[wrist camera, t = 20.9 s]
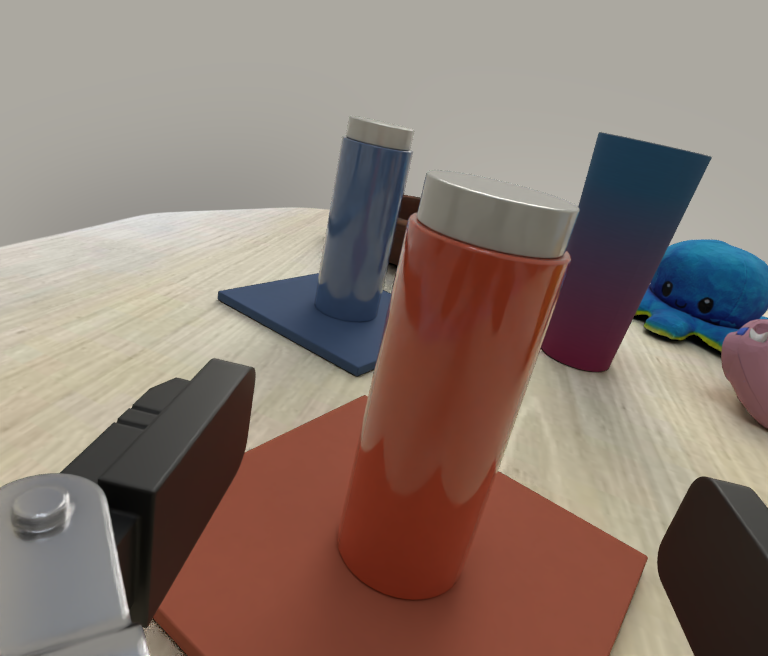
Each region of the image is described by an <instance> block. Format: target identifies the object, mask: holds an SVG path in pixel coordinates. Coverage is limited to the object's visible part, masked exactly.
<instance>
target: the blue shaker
mask: <svg viewBox="0 0 768 656" xmlns="http://www.w3.org/2000/svg"><path fill="white" fill-rule="evenodd" d="M413 135H414V130H413V129H410V128H407V127H403V126H399V125H395V124H391V123H386V122H382V121H378V120H373V119H368V118H362V117H357V116H350V117H349V121H348V127H347V132H346V136H343V137H342V142H341V148H340V153H339V159H338V165H337V172H336V177H335V183H334V189H333V195H332V201H331V207H330V212H329V218H328V224H327V230H326V236H325V241H324V247H323V253H322V259H321V265H320V271H319V277H318V283H317V288H316V294H315V300H314V305H315V307H316V308H317V309H318V310H319V311H320V312H322V313H323V314H325V315H328V316H330V317H333V318H336V319H340V320H344V321H351V322H365V321H370V320H373V319H375V318H376V317H377V315H378V310H379V306H380V301H381V296H382V292H383V287H384V283H385V278H386V274H387V269H388V264H389V260H390V255H391V251H392V246H393V242H394V237H395V233H396V228H397V223H398V219H399V214H400V210H401V205H402V201H403V196H404V191H405V187H406V182H407V178H408V173H409V169H410V164H411V159H412V154H413V151H412V150H410V149H411V144H412V140H413Z"/></svg>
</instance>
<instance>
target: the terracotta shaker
mask: <svg viewBox="0 0 768 656" xmlns="http://www.w3.org/2000/svg"><path fill="white" fill-rule="evenodd" d="M579 212H580V208H579V207H578V206H576V205H575V204H573V203H571V202H569V201H567V200H564V199H561V198H558V197H556V196H553V195H550V194H547V193H544V192H540V191H537V190H534V189H530V188H527V187H523V186H519V185H516V184H511V183H508V182H503V181H499V180H495V179H491V178H486V177H481V176H476V175H471V174H465V173H459V172H451V171H442V170H432V171H428V172H427V173H426V177H425V182H424V186H423V191H422V195H421V199H420V203H419V208H418V212H417V213H414V214H412V215H411V216H410V217H409V218H408V222H407V227H406V231H405V235H404V240H403V244H402V249H401V253H400V258H399V262H398V266H397V271H396V275H395V280H394V284H393V289H392V293H391V297H390V302H389V306H388V311H387V315H386V320H385V324H384V328H383V333H382V337H381V342H380V346H379V351H378V355H377V359H376V364H375V368H374V373H373V377H372V381H371V386H370V390H369V395H368V399H367V404H366V408H365V412H364V417H363V421H362V426H361V430H360V435H359V439H358V443H357V448H356V452H355V457H354V461H353V466H352V470H351V474H350V479H349V483H348V488H347V492H346V497H345V501H344V505H343V510H342V514H341V519H340V523H339V528H338V533H337V543H338V548H339V551H340V554H341V557H342V559H343V561H344V563H345V564H346V565H347V567H348V568H349V570H350V571H351V572H352V573H353V574H354V575H355V576H356V577H357V578H358V579H359V580H360V581H362V582H363V583H364V584H366V585H367V586H369V587H371V588H372V589H374V590H376V591H378V592H380V593H383V594H385V595H388V596H391V597H395V598H400V599H406V600H423V599H430V598H433V597H437V596H439V595H441V594H443V593H445V592H447V591H448V590H449V589H451V588H452V587H453V586H454V585H455V584H456V583H457V582H458V580H459V579H460V577H461V575H462V572H463V570H464V567H465V564H466V561H467V558H468V555H469V552H470V550H471V547H472V544H473V541H474V538H475V535H476V532H477V530H478V527H479V524H480V521H481V518H482V515H483V512H484V510H485V507H486V504H487V501H488V498H489V495H490V492H491V489H492V487H493V484H494V481H495V478H496V475H497V472H498V469H499V467H500V464H501V461H502V458H503V455H504V452H505V449H506V447H507V444H508V441H509V438H510V435H511V432H512V429H513V427H514V424H515V421H516V418H517V415H518V412H519V409H520V407H521V404H522V401H523V398H524V395H525V392H526V389H527V387H528V384H529V381H530V378H531V375H532V372H533V369H534V367H535V364H536V361H537V358H538V355H539V352H540V349H541V346H542V344H543V341H544V338H545V335H546V332H547V329H548V326H549V324H550V321H551V318H552V315H553V312H554V309H555V306H556V304H557V301H558V298H559V295H560V292H561V289H562V286H563V284H564V281H565V278H566V275H567V272H568V269H569V266H570V264H571V255H570V253H569V252H568V251H567V247H568V245H569V242H570V239H571V236H572V233H573V230H574V227H575V224H576V221H577V218H578V215H579Z"/></svg>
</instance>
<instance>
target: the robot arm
mask: <svg viewBox="0 0 768 656" xmlns="http://www.w3.org/2000/svg"><path fill="white" fill-rule="evenodd" d="M254 386H255V369H254V368H253V367H249V366H245V365H240V364H236V363H232V362H228V361H224V360H220V359H215V358H213V359H211V360H210V361H209V362H208V363H207V364H206V365H205V366H204V367H203V368H202V369H201V370H200V371H199V372H198V373H197V375H196V376H195V377H194V378H193V379H192V380H191V381H188V380H184V379H180V378H174V379H172V380H169V381H167V382H165V383H162V384H160V385H157V386H155V387H153V388H150V389H149V390H148V391H147V392H146V393H145V394H144V395H143V396H142V397H141V398H139V399H138V400H137V401H136V402H135V403H134V404H133V406H132V408H131V409H130V408H129V409H128V410H127V411H126V412H125V413H123V414H122V415H121V416H120V417H119V418H118V421H117V423H115V422H114V423H113V424H112V425H111V426H110V427H108V428H107V429H106V430H105V431H104V432H103V433H102V434H101V435H100V436H99V437H98V438H97V439H96V440H95V441H94V442H92V443H91V444H90V445H89V446H88V447H87V448H86V449H85V450H84V451H83V452H82V453H81V454H80V455H79V456H77V457H76V458H75V459H74V460H73V461H72V462H71V463H70V464H69V465H68V466H67V467H66V468H65V469H64V470H63V471H61V472H60V473H52V474H41V475H35V476H30V477H26V478H22V479H19V480H16V481H13V482H11V483H8V484H6V485H4V486H2V487H0V656H150V654H149V650H148V645H147V641H146V637H145V634H144V630H143V628H142V627H144V628H147V627H148V625H149V624H150V622H151V620H152V618H153V617H154V615H155V613H156V612H157V610H158V608H159V606H160V605H161V603H162V601H163V599H164V598H165V596H166V594H167V593H168V591H169V589H170V587H171V586H172V584H173V582H174V581H175V579H176V577H177V575H178V574H179V572H180V570H181V569H182V567H183V565H184V563H185V562H186V560H187V558H188V556H189V555H190V553H191V551H192V550H193V548H194V546H195V544H196V543H197V541H198V539H199V538H200V536H201V534H202V532H203V531H204V529H205V527H206V526H207V524H208V522H209V520H210V519H211V517H212V515H213V514H214V512H215V510H216V508H217V507H218V505H219V503H220V501H221V500H222V498H223V496H224V495H225V493H226V491H227V489H228V488H229V486H230V484H231V483H232V481H233V479H234V477H235V476H236V474H237V472H238V470H239V467H240V465H241V462H242V459H243V456H244V452H245V448H246V444H247V438H248V430H249V423H250V415H251V408H252V401H253V393H254ZM657 565H658V573H659V577H660V580H661V582H662V585H663V587H664V589H665V591H666V593H667V596H668V598H669V600H670V602H671V605H672V607H673V609H674V611H675V613H676V616H677V618H678V620H679V622H680V625H681V627H682V629H683V631H684V633H685V636H686V638H687V640H688V642H689V645H690V647H691V649H692V651H693V653H694V656H768V508H767V507H766V505H765V504H764V503H763V502H762V500H761V499H760V498H759V497H758V495H757V494H756V493H755V492H754V491H753V490H752V489H751V488H749V487H746V486H742V485H738V484H734V483H730V482H726V481H721V480H717V479H713V478H709V477H699V478H697V479H696V480H695V481H694V482H693V483H692V484H691V486H690V487H689V489H688V491H687V493H686V495H685V497H684V499H683V501H682V503H681V505H680V507H679V509H678V510H677V512H676V514H675V516H674V518H673V520H672V522H671V524H670V526H669V528H668V530H667V532H666V534H665V536H664V538H663V539H662V542H661V544H660V547H659V551H658V560H657Z"/></svg>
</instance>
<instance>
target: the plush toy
mask: <svg viewBox="0 0 768 656" xmlns="http://www.w3.org/2000/svg"><path fill="white" fill-rule="evenodd" d="M767 309H768V266H767V264H766V263H765V262H764V261H762V260H761V259H759V258H758V257H756V256H755V255H753V254H751V253H749V252H747V251H745V250H742V249H740V248H737V247H734V246H731V245H729V244H727V243H725V242H723V241H719V240H688V241H683V242H679V243H676V244H673V245H671V246H669V247H668V248H667V250H666V252H665V254H664V256H663V258H662V260H661V262H660V264H659V266H658V268H657V270H656V272H655V274H654V277H653V279H652V281H651V284H650V285H649V287H648V289H647V291H646V293H645V295H644V297H643V299H642V301H641V303H640V305H639V307H638V309H637V311H636V313H635V315H640V314H643V315H645V314H646V315H648V316H649V318H648V319H647V320H646V323H645V324H644V327H646V328H647V329H648V330H650V331H652V332H655V333H657V334H659V335H663V336H667V337H668V338H670V339H678V340H685V338H686V337H688V336H690V335H693V334H695V335H697V336H699V337H700V338H701V339H702V340H703V341H704V342H706V343H707V344H708V345H709V346H713V348H715V349H718V350H719V351H721V352H722V345H723V342H724V339H725V337H726V336H727V335H728V334H729V333H731V332H736V331H738V330H739V329H740V328H741V327H742V326H743V325H745V324H746V323H748V322H750V321H753V320H756V319H768V318H767V317H763V316H762V315H763V314H764V313H765V312H766V311H767Z"/></svg>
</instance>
